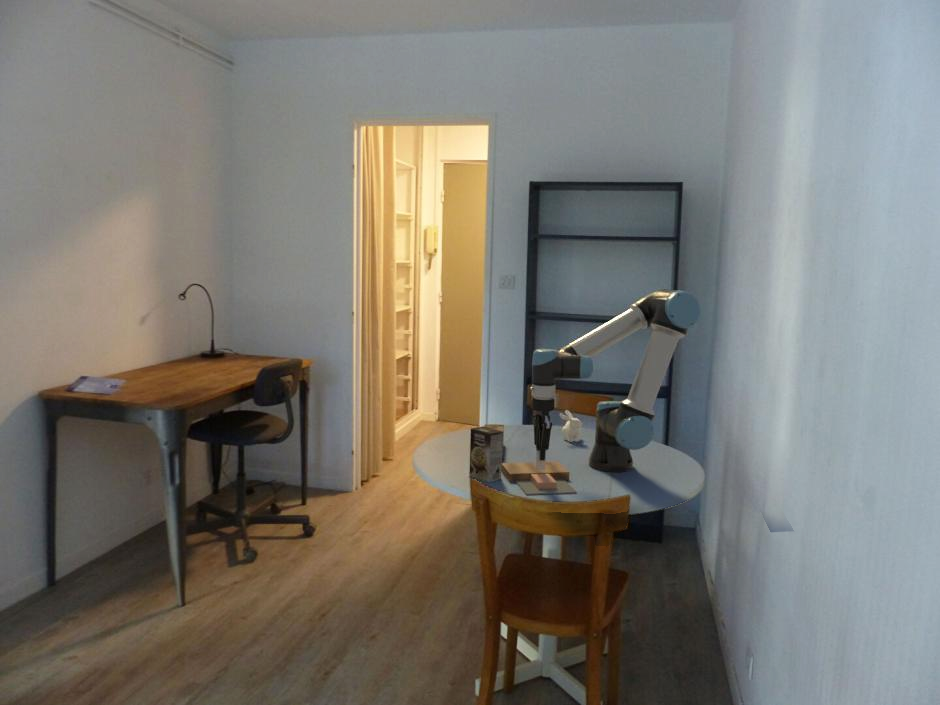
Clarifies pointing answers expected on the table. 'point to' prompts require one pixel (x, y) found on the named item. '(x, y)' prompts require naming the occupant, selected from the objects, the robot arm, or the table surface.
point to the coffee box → (486, 453)
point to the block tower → (497, 427)
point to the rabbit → (571, 427)
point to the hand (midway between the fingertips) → (540, 469)
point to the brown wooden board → (533, 471)
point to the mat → (533, 490)
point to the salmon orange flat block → (543, 481)
